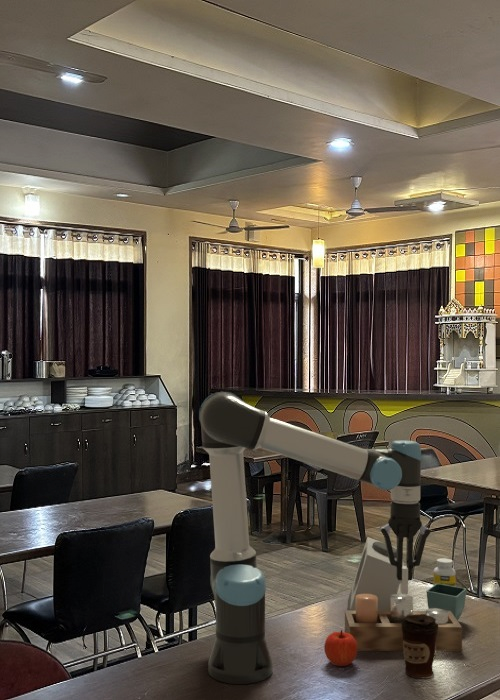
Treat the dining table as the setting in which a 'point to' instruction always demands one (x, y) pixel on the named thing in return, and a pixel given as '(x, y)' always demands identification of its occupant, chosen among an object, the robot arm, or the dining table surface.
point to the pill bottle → (445, 572)
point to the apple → (340, 648)
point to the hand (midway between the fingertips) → (404, 592)
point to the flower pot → (447, 598)
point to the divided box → (398, 633)
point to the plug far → (438, 615)
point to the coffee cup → (419, 644)
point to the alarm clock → (375, 575)
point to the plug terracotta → (366, 608)
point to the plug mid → (401, 607)
